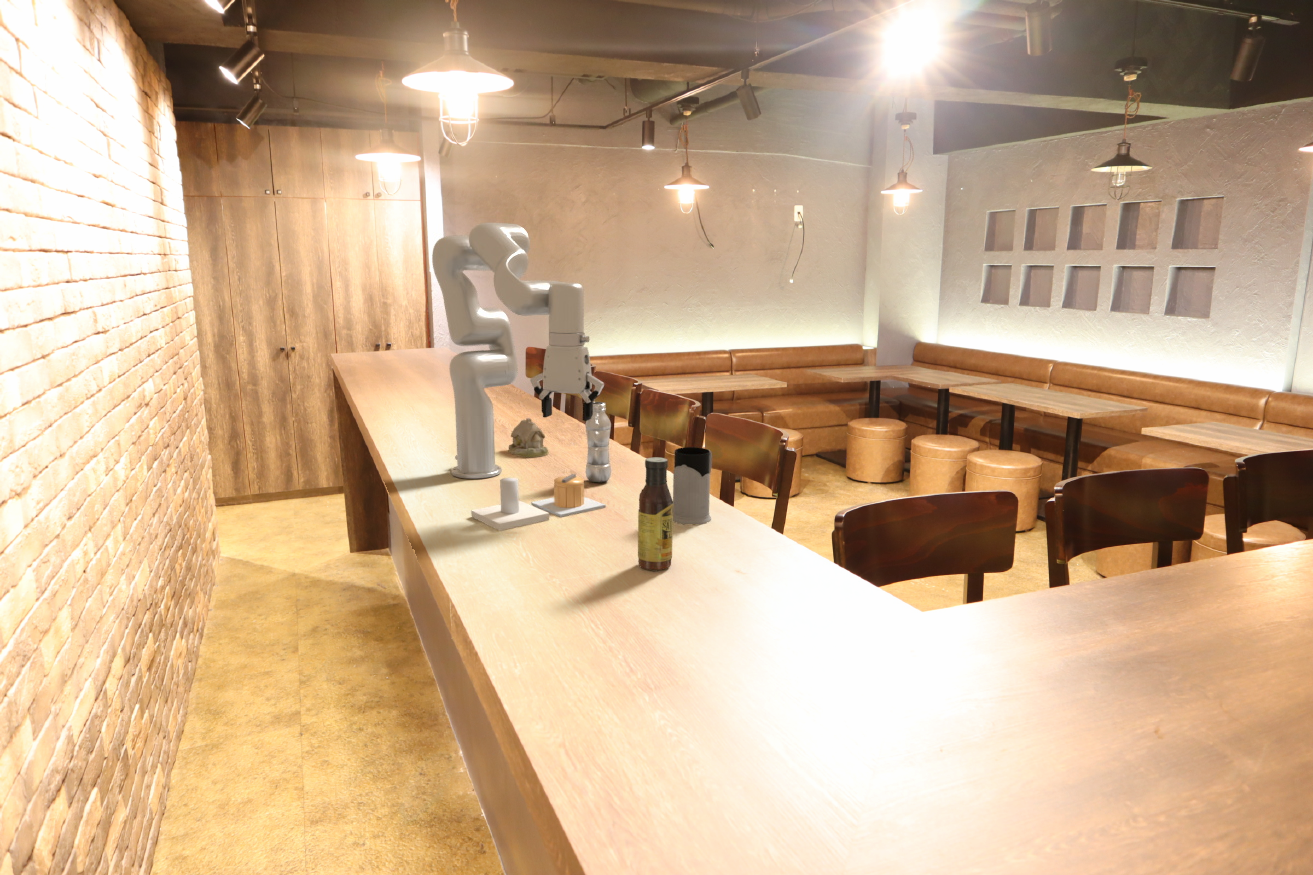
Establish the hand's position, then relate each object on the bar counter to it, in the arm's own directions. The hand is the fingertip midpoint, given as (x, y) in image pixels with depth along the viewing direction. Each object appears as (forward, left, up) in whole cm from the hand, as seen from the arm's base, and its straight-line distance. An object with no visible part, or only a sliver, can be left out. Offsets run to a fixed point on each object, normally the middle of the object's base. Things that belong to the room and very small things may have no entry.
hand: (567, 418), depth 183 cm
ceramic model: (-52, +22, -21) cm, 60 cm away
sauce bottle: (+41, -9, -20) cm, 47 cm away
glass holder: (+23, +18, -20) cm, 36 cm away
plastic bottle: (-13, +18, -20) cm, 30 cm away
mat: (0, 0, -20) cm, 20 cm away
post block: (0, -15, -20) cm, 25 cm away
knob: (0, 0, -20) cm, 20 cm away
